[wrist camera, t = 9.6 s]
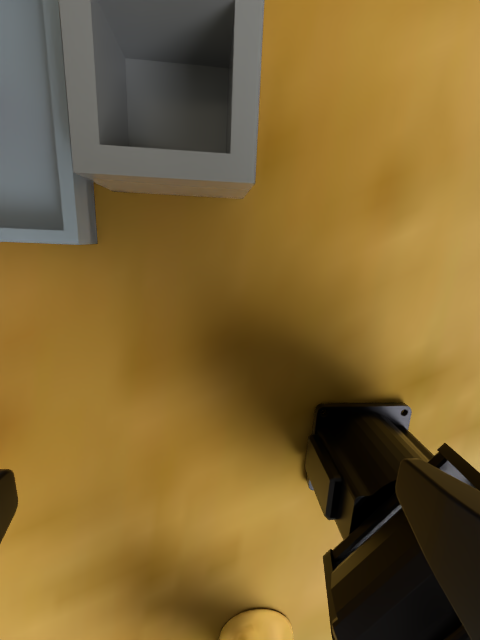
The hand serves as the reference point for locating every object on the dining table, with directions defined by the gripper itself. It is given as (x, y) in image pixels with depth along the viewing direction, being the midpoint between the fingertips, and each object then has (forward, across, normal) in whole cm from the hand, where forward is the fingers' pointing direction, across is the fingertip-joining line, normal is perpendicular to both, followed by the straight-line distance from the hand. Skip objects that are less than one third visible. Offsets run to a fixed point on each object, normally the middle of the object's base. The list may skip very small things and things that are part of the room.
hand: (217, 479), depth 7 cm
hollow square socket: (+12, +2, -11) cm, 16 cm away
